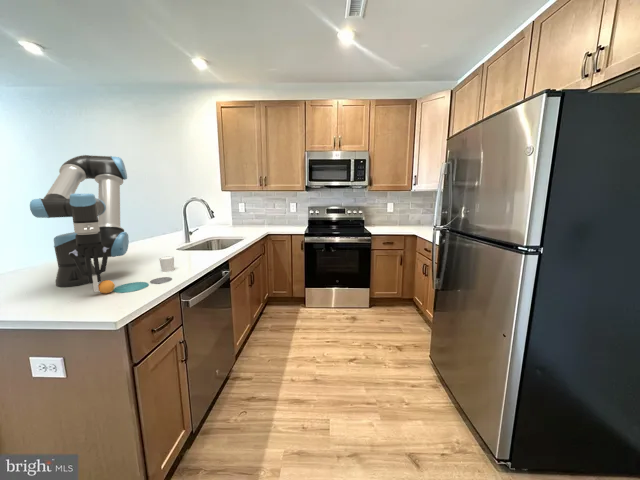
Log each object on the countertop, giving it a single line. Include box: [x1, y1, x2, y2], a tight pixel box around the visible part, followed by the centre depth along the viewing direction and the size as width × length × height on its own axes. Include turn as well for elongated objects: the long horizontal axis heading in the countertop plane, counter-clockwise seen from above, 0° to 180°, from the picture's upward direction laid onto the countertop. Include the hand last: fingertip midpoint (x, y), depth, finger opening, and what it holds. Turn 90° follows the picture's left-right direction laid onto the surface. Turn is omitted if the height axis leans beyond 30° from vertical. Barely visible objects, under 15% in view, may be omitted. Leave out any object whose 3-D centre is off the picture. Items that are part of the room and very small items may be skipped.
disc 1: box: [112, 281, 149, 294], centre depth 118 cm, size 13×13×1 cm
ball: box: [98, 279, 116, 294], centre depth 111 cm, size 6×6×6 cm
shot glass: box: [158, 256, 175, 273], centre depth 143 cm, size 7×7×7 cm
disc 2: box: [149, 276, 173, 285], centre depth 127 cm, size 9×9×1 cm
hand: (96, 290), depth 109 cm, fingers closed
